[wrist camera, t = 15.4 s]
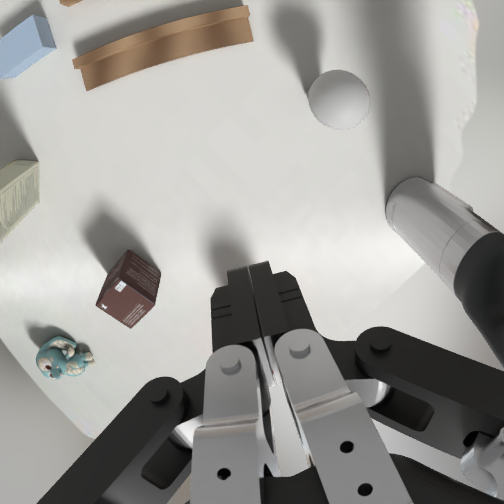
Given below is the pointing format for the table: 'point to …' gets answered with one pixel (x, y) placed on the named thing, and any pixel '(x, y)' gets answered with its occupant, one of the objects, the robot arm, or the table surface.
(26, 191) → the skincare box
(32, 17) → the block
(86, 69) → the chute
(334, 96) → the lightbulb
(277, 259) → the table surface
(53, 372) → the stuffed animal
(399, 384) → the robot arm
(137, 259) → the box
